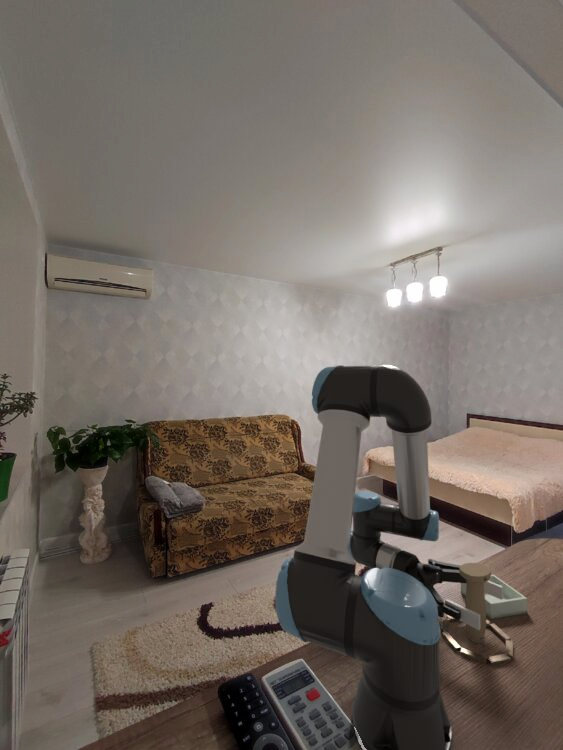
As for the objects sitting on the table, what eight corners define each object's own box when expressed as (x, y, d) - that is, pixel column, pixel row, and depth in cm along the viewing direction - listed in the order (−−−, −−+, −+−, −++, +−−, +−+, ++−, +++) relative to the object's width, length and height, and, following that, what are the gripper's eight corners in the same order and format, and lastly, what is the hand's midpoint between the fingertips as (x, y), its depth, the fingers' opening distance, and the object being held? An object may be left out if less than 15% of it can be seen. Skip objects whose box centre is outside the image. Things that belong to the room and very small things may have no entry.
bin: (491, 618, 79) (491, 603, 79) (460, 592, 89) (460, 578, 89) (527, 612, 81) (527, 598, 81) (493, 587, 91) (493, 574, 91)
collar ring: (471, 670, 65) (471, 666, 65) (429, 621, 78) (429, 618, 78) (529, 658, 68) (529, 654, 68) (479, 613, 81) (479, 610, 81)
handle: (497, 643, 72) (496, 572, 72) (474, 651, 70) (473, 578, 70) (476, 627, 76) (476, 560, 76) (455, 635, 74) (454, 566, 74)
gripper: (422, 561, 95) (510, 598, 79) (370, 600, 78) (468, 657, 62) (421, 535, 95) (509, 566, 79) (370, 568, 78) (468, 616, 62)
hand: (492, 606), depth 71 cm, fingers open, 13 cm apart
